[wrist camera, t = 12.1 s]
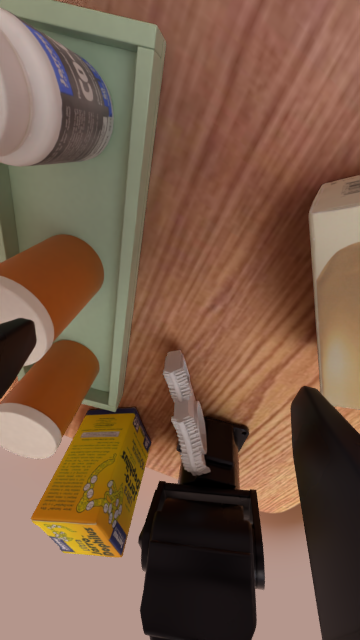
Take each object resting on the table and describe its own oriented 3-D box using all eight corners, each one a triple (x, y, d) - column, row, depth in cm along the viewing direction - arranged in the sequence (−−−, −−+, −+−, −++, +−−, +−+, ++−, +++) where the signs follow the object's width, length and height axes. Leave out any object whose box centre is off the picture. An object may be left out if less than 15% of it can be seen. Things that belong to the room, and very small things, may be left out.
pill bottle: (131, 96, 14) (40, 48, 7) (94, 178, 17) (0, 200, 10) (48, 27, 13) (-146, -103, 6) (22, 124, 16) (-140, 107, 9)
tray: (123, 394, 28) (115, 412, 26) (33, 371, 28) (19, 388, 26) (167, 41, 14) (157, 24, 12) (-18, -3, 14) (-58, -27, 12)
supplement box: (153, 441, 32) (123, 559, 23) (107, 442, 33) (61, 554, 24) (137, 405, 29) (95, 526, 20) (87, 408, 30) (27, 521, 21)
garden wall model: (163, 349, 23) (156, 404, 18) (184, 345, 23) (183, 400, 18) (193, 438, 29) (195, 499, 24) (210, 436, 29) (215, 497, 23)
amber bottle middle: (104, 305, 22) (49, 376, 15) (41, 290, 22) (-41, 353, 15) (107, 242, 19) (42, 295, 12) (35, 224, 19) (-70, 267, 12)
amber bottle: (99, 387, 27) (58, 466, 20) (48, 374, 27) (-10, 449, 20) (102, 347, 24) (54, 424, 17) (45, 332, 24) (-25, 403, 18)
